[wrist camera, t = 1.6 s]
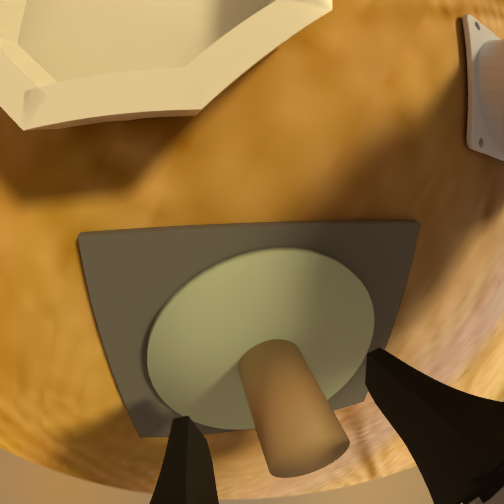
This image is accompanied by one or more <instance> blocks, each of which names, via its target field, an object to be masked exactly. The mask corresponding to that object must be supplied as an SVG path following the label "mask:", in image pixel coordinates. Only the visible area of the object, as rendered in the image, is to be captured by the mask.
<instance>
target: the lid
mask: <svg viewBox="0 0 504 504" xmlns="http://www.w3.org/2000/svg"><path fill="white" fill-rule="evenodd" d="M373 331H374V309H373V304H372V301H371V298H370V296H369V293H368V291H367V289H366V288H365V286H364V285H363V283H362V282H361V281H360V280H359V279H358V278H357V277H356V276H355V275H354V274H353V273H352V272H351V271H350V270H349V269H348V268H347V267H346V266H344V265H343V264H341V263H340V262H339V261H337V260H336V259H334V258H332V257H329V256H327V255H325V254H323V253H320V252H316V251H313V250H310V249H304V248H297V247H269V248H260V249H254V250H250V251H246V252H242V253H238V254H235V255H233V256H230V257H227V258H225V259H222V260H220V261H218V262H216V263H214V264H212V265H210V266H208V267H206V268H204V269H202V270H201V271H199V272H198V273H197V274H195V275H194V276H192V277H191V278H189V279H188V280H187V281H186V282H184V283H183V284H182V285H181V286H180V287H179V288H178V289H177V290H176V291H175V292H174V293H173V294H172V295H171V296H170V297H169V299H168V300H167V301H166V302H165V303H164V305H163V306H162V308H161V310H160V311H159V313H158V315H157V316H156V318H155V321H154V323H153V326H152V328H151V331H150V336H149V341H148V351H147V366H148V372H149V376H150V379H151V382H152V384H153V387H154V388H155V390H156V392H157V393H158V395H159V396H160V397H161V399H162V400H163V401H164V402H165V403H166V404H167V405H168V406H169V407H170V408H172V409H173V410H174V411H175V412H177V413H179V414H180V415H182V416H188V415H189V417H190V418H191V420H192V421H194V422H197V423H199V424H202V425H206V426H210V427H214V428H221V429H234V430H243V429H255V428H256V431H257V434H258V438H259V441H260V444H261V447H262V450H263V453H264V456H265V459H266V462H267V465H268V468H269V471H270V473H271V475H273V476H275V477H281V478H288V477H296V476H301V475H305V474H308V473H311V472H314V471H316V470H319V469H321V468H323V467H325V466H327V465H329V464H330V463H332V462H334V461H335V460H336V459H338V458H339V457H340V456H342V455H343V454H344V453H345V451H346V450H347V449H348V447H349V444H350V441H349V439H348V437H347V435H346V433H345V432H344V430H343V428H342V426H341V424H340V423H339V421H338V419H337V417H336V415H335V414H334V412H333V410H332V408H331V406H330V405H329V403H328V401H327V400H328V399H329V398H331V397H332V396H333V395H334V394H335V393H337V392H338V391H339V390H340V389H341V388H342V387H343V386H344V385H345V384H346V383H347V382H348V381H349V380H350V378H351V377H352V376H353V375H354V374H355V372H356V371H357V369H358V368H359V366H360V365H361V363H362V361H363V360H364V358H365V356H366V354H367V351H368V349H369V346H370V344H371V340H372V336H373Z"/></svg>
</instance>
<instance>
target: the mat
mask: <svg viewBox="0 0 504 504" xmlns="http://www.w3.org/2000/svg"><path fill="white" fill-rule="evenodd" d="M419 227H420V223H419V222H417V221H415V220H356V221H296V222H261V223H234V224H210V225H189V226H170V227H153V228H136V229H121V230H107V231H93V232H81V233H80V234H79V235H78V241H79V247H80V253H81V258H82V263H83V268H84V273H85V278H86V282H87V287H88V291H89V295H90V299H91V303H92V307H93V311H94V315H95V318H96V322H97V325H98V329H99V332H100V336H101V339H102V342H103V345H104V348H105V351H106V354H107V357H108V360H109V363H110V366H111V369H112V372H113V375H114V377H115V380H116V383H117V385H118V388H119V390H120V393H121V396H122V398H123V400H124V403H125V405H126V408H127V410H128V412H129V415H130V417H131V419H132V422H133V424H134V426H135V428H136V430H137V432H138V435H139V437H169V435H170V430H171V424H172V420H173V419H174V418H179V417H183V416H182V415H180V414H179V413H177V412H175V411H174V410H173V409H172V408H170V407H169V406H168V405H167V404H166V403H165V402H164V401H163V400H162V399H161V397H160V396H159V395H158V393H157V392H156V390H155V388H154V387H153V384H152V382H151V379H150V376H149V372H148V366H147V351H148V341H149V336H150V331H151V328H152V326H153V323H154V321H155V318H156V316H157V315H158V313H159V311H160V310H161V308H162V306H163V305H164V303H165V302H166V301H167V300H168V299H169V297H170V296H171V295H172V294H173V293H174V292H175V291H176V290H177V289H178V288H179V287H180V286H181V285H182V284H183V283H184V282H186V281H187V280H188V279H189V278H191V277H192V276H194V275H195V274H197V273H198V272H199V271H201V270H202V269H204V268H206V267H208V266H210V265H212V264H214V263H216V262H218V261H220V260H222V259H225V258H227V257H230V256H233V255H235V254H238V253H242V252H246V251H250V250H254V249H260V248H269V247H297V248H304V249H310V250H313V251H316V252H320V253H323V254H325V255H327V256H329V257H332V258H334V259H336V260H337V261H339V262H340V263H341V264H343V265H344V266H346V267H347V268H348V269H349V270H350V271H351V272H352V273H353V274H354V275H355V276H356V277H357V278H358V279H359V280H360V281H361V282H362V283H363V285H364V286H365V288H366V289H367V291H368V293H369V296H370V298H371V301H372V304H373V309H374V331H373V336H372V340H371V344H370V346H369V349H368V351H367V353H369V352H371V351H373V350H375V349H377V348H379V347H380V348H382V349H384V350H385V347H386V345H387V342H388V339H389V336H390V334H391V331H392V328H393V325H394V322H395V319H396V316H397V312H398V309H399V306H400V303H401V299H402V296H403V293H404V289H405V286H406V282H407V278H408V275H409V271H410V267H411V263H412V259H413V254H414V250H415V246H416V241H417V237H418V232H419ZM366 360H367V354H366V356H365V358H364V360H363V361H362V363H361V365H360V366H359V368H358V369H357V371H356V372H355V374H354V375H353V376H352V377H351V378H350V380H349V381H348V382H347V383H346V384H345V385H344V386H343V387H342V388H341V389H340V390H339V391H338V392H337V393H335V394H334V395H333V396H332V397H331V398H329V399H328V400H327V401H328V403H329V405H330V406H331V408H332V410H337V409H340V408H344V407H347V406H350V405H354V404H357V403H360V402H363V401H364V399H365V397H366V394H367V392H368V389H367V387H366V385H365V375H366ZM193 422H194V421H193ZM194 424H195V425H196V426H197V428H198V429H199V431H200V432H201V433H202V434H212V433H221V432H230V431H237V430H234V429H221V428H214V427H210V426H206V425H202V424H199V423H197V422H194ZM243 430H244V429H243Z"/></svg>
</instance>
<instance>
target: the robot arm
mask: <svg viewBox="0 0 504 504" xmlns="http://www.w3.org/2000/svg"><path fill="white" fill-rule="evenodd" d="M463 26H464V34H465V43H466V55H467V72H468V120H467V138H466V139H467V145H468V147H469V148H470V149H472V150H475V151H477V152H480V153H483V154H486V155H488V156H491V157H494V158H496V159H499V160H502V161H504V40H501V39H499V38H498V37H497V36H496V35H495V34H494V33H493V32H491V31H490V30H489V29H488V28H487V27H485V26H484V25H483V24H482V23H480V22H479V21H478V20H476V19H475V18H474V17H473V16H471V15H470V14H466V15H463ZM365 385H366V387H367V389H368V391H369V393H370V394H371V396H372V398H373V400H374V401H375V403H376V405H377V406H378V407H379V409H380V410H381V411H382V413H383V414H384V416H385V417H386V418H387V420H388V421H389V422H390V424H391V425H392V426H393V428H394V429H395V430H396V432H397V433H398V434H399V436H400V437H401V438H402V440H403V441H404V443H405V444H406V446H407V448H408V450H409V451H410V453H411V455H412V457H413V459H414V460H415V462H416V464H417V466H418V468H419V470H420V472H421V474H422V476H423V478H424V481H425V483H426V485H427V487H428V489H429V492H430V494H431V497H432V499H433V502H434V504H460V503H463V504H504V402H500V401H494V400H490V399H486V398H482V397H478V396H474V395H471V394H468V393H465V392H462V391H460V390H457V389H454V388H452V387H450V386H447V385H445V384H443V383H441V382H439V381H437V380H435V379H433V378H431V377H429V376H427V375H425V374H423V373H422V372H420V371H418V370H416V369H414V368H413V367H411V366H409V365H408V364H406V363H404V362H403V361H401V360H400V359H398V358H396V357H395V356H393V355H392V354H390V353H388V352H387V351H385V350H384V349H382V348H380V347H379V348H377V349H375V350H373V351H371V352H369V353H367V360H366V375H365ZM150 504H219V502H218V496H217V490H216V483H215V477H214V470H213V463H212V459H211V455H210V451H209V447H208V444H207V440H206V438H205V437H204V436H203V435H202V433H201V432H200V431H199V429H198V428H197V426H196V425H195V424H194V422H193V421H192V420H191V418H190V417H189V415H188V416H183V417H179V418H174V419H173V420H172V424H171V430H170V435H169V440H168V444H167V449H166V453H165V457H164V460H163V464H162V468H161V472H160V475H159V478H158V481H157V484H156V487H155V490H154V493H153V496H152V499H151V501H150Z"/></svg>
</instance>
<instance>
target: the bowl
mask: <svg viewBox="0 0 504 504" xmlns="http://www.w3.org/2000/svg"><path fill="white" fill-rule="evenodd" d="M331 10H332V0H0V107H1V108H2V109H3V110H4V111H5V112H6V113H7V114H8V115H9V116H10V117H11V118H12V119H13V120H14V121H15V122H16V123H17V125H18V126H19V127H20V128H21V129H22V130H23V131H25V130H41V129H62V128H67V127H73V126H80V125H86V124H93V123H101V122H109V121H128V120H135V119H142V118H154V117H174V116H196V115H197V114H199V113H200V112H201V111H202V110H203V109H204V108H205V107H206V106H207V105H208V104H209V103H210V102H212V101H213V100H214V99H215V98H216V97H217V96H218V95H219V94H220V93H222V92H223V91H224V90H225V89H226V88H227V87H229V86H230V85H231V84H232V83H233V82H234V81H236V80H237V79H238V78H239V77H240V76H242V75H243V74H244V73H245V72H247V71H248V70H249V69H250V68H251V67H253V66H254V65H255V64H256V63H258V62H259V61H260V60H262V59H263V58H264V57H266V56H267V55H268V54H269V53H271V52H272V51H273V50H275V49H276V48H278V47H279V46H280V45H282V44H283V43H284V42H286V41H287V40H289V39H290V38H291V37H293V36H294V35H296V34H297V33H299V32H300V31H302V30H303V29H304V28H306V27H307V26H309V25H310V24H312V23H313V22H315V21H316V20H318V19H319V18H321V17H322V16H324V15H325V14H327V13H328V12H330V11H331Z"/></svg>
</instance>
